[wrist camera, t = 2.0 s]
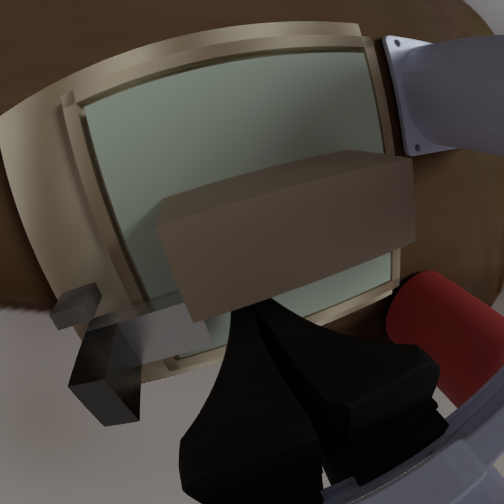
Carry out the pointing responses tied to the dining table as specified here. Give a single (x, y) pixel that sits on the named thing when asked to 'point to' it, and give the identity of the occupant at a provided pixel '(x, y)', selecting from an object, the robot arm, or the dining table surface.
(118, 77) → the picture frame
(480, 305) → the beer can
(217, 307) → the cover
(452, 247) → the dining table surface
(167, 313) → the latch bolt
